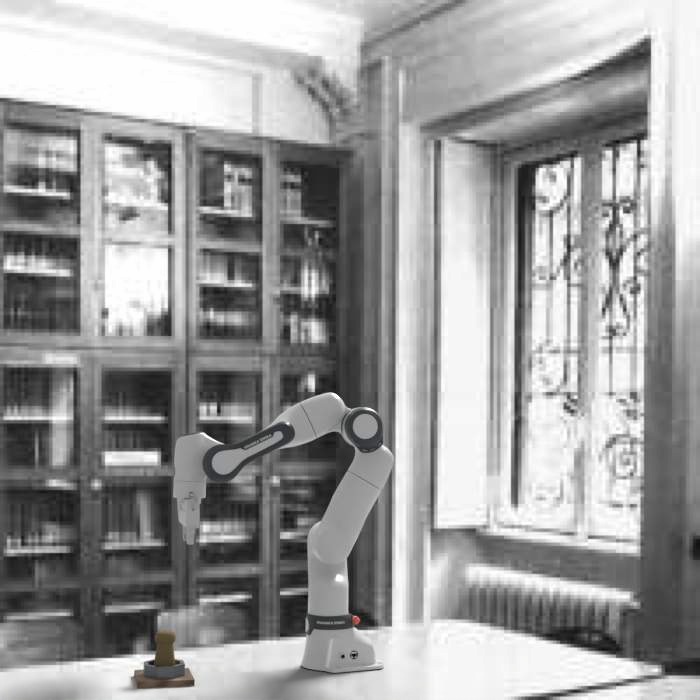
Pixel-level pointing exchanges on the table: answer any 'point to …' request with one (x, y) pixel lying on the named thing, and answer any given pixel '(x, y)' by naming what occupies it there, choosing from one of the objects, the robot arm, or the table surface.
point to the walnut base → (163, 680)
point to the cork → (164, 648)
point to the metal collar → (164, 670)
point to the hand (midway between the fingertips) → (188, 542)
